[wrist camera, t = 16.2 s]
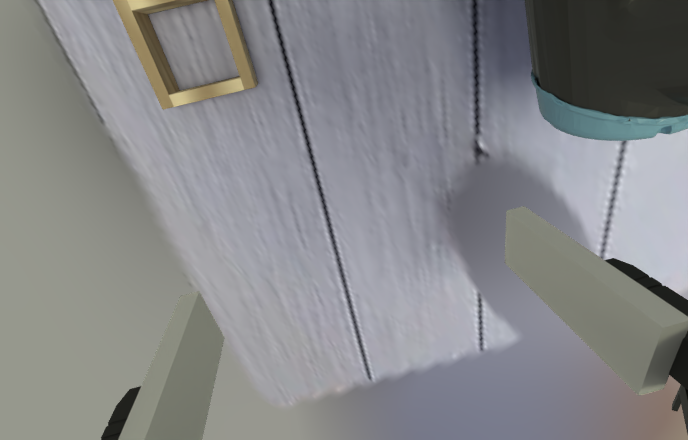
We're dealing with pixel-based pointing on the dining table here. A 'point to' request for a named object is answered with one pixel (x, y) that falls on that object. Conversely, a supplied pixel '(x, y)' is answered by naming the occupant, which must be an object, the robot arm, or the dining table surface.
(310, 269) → the dining table surface
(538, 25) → the robot arm
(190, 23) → the dining table surface
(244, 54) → the socket block
